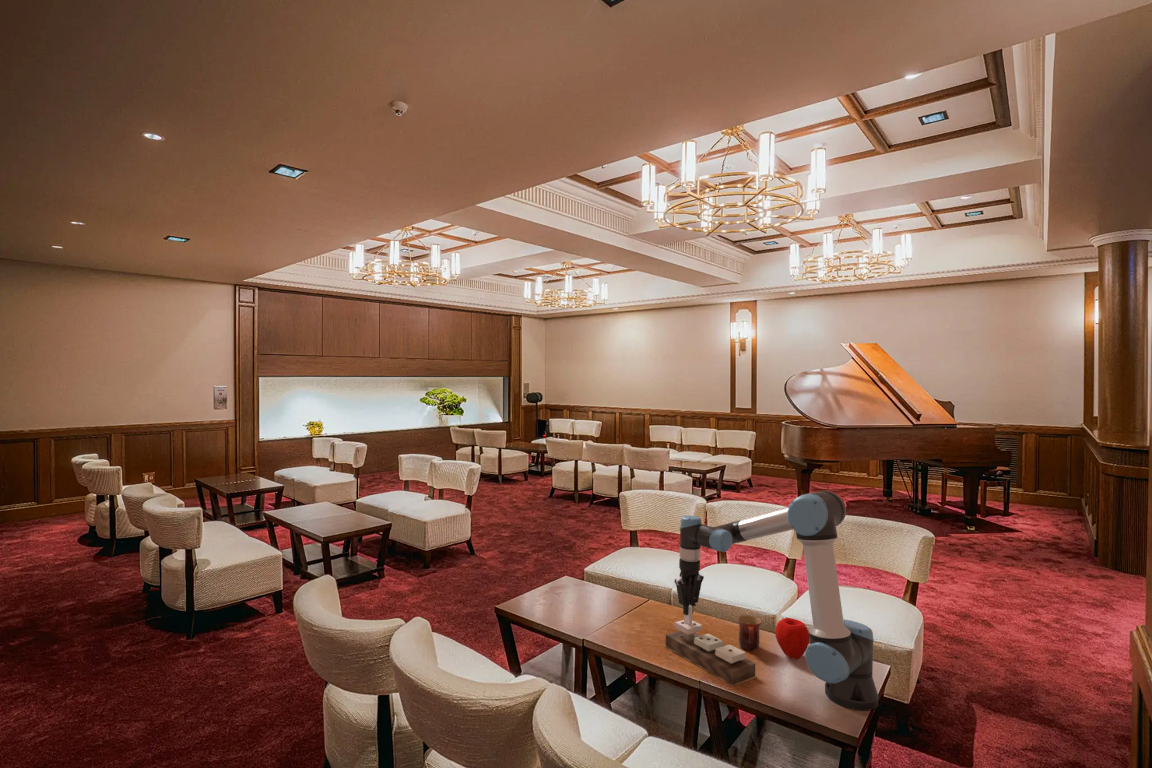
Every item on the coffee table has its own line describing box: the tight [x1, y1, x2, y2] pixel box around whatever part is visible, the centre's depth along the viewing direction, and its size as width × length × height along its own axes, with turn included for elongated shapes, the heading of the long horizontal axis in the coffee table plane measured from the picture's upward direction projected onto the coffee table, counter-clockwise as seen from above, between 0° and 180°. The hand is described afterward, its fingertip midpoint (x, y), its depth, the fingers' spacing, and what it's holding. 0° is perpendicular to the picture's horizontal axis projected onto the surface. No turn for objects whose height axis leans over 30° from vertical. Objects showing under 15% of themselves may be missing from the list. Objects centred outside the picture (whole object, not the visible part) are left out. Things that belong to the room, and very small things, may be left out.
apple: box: [774, 617, 810, 660], centre depth 204 cm, size 12×12×13 cm
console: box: [664, 630, 757, 687], centre depth 199 cm, size 33×12×4 cm, turn 33°
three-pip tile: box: [694, 633, 724, 652], centre depth 199 cm, size 7×7×7 cm
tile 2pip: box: [674, 619, 703, 641], centre depth 207 cm, size 7×7×7 cm
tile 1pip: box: [715, 643, 747, 664], centre depth 191 cm, size 7×7×7 cm
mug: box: [737, 614, 763, 652], centre depth 209 cm, size 12×9×10 cm
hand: (687, 622), depth 208 cm, fingers closed
